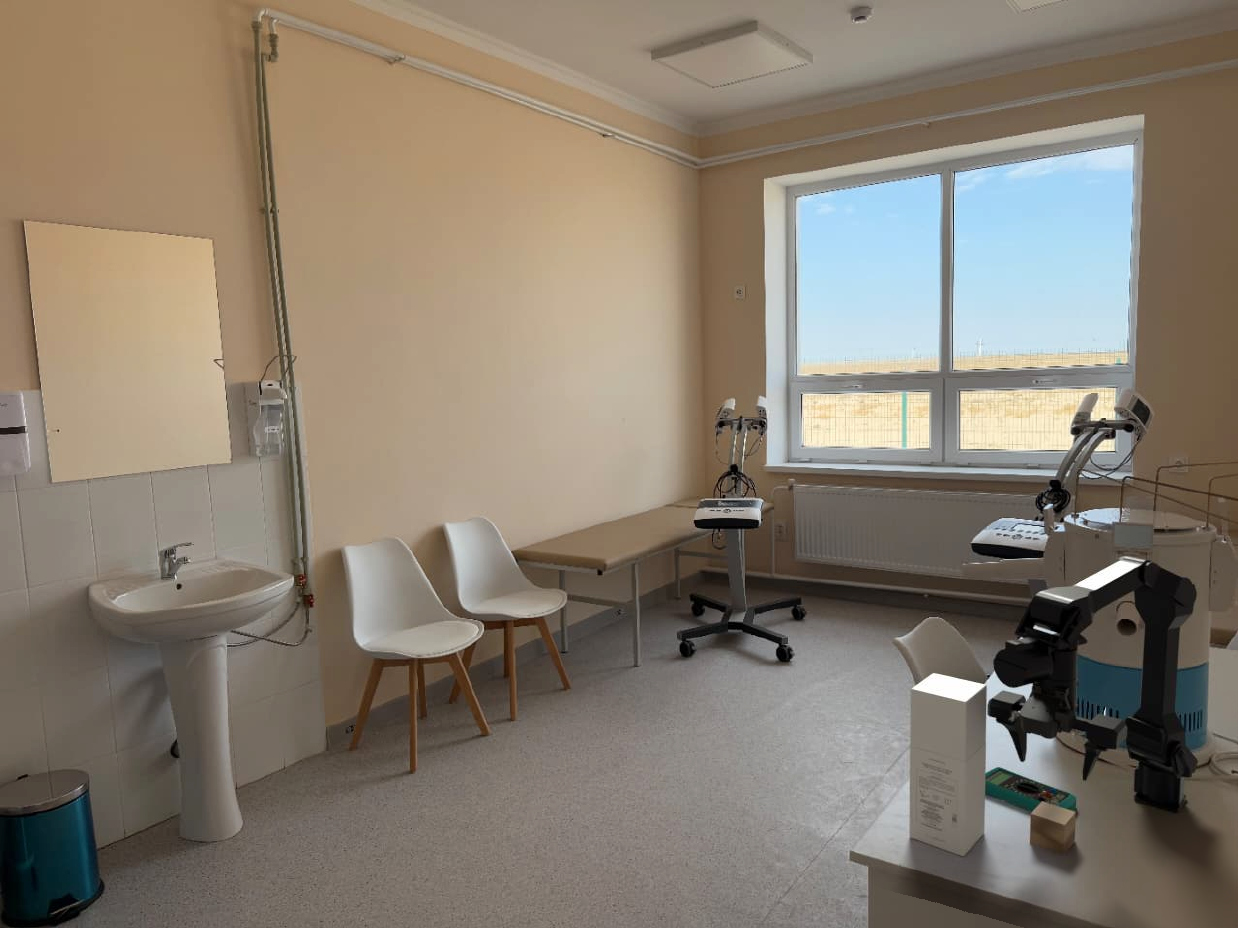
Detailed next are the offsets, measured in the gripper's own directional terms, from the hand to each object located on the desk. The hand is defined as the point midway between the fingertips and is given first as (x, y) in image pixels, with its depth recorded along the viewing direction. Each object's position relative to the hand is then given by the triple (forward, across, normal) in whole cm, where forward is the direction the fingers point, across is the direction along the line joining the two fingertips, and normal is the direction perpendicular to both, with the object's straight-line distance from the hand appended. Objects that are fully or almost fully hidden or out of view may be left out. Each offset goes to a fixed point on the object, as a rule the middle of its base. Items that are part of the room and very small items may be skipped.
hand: (1053, 770), depth 134 cm
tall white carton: (+12, -13, -9) cm, 20 cm away
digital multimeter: (+12, -8, +11) cm, 18 cm away
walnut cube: (+12, 0, 0) cm, 12 cm away
